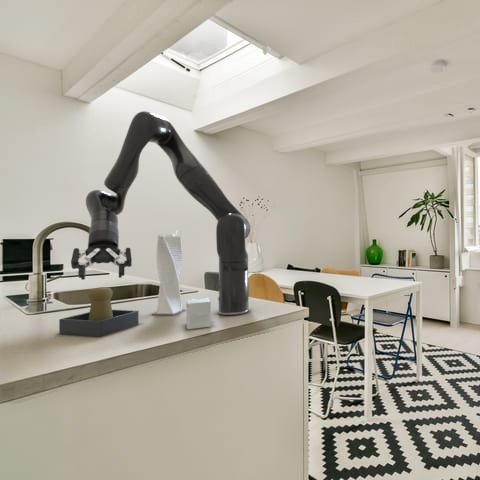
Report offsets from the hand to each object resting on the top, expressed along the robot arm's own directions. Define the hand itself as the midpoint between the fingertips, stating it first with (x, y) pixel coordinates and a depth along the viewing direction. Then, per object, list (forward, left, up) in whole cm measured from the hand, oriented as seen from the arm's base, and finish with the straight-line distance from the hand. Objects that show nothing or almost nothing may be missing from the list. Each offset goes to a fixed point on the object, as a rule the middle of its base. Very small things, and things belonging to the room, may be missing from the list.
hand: (102, 276), depth 96 cm
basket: (+4, +4, -14) cm, 15 cm away
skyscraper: (-16, +9, -14) cm, 23 cm away
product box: (-4, +28, -14) cm, 32 cm away
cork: (+4, +4, -14) cm, 15 cm away
